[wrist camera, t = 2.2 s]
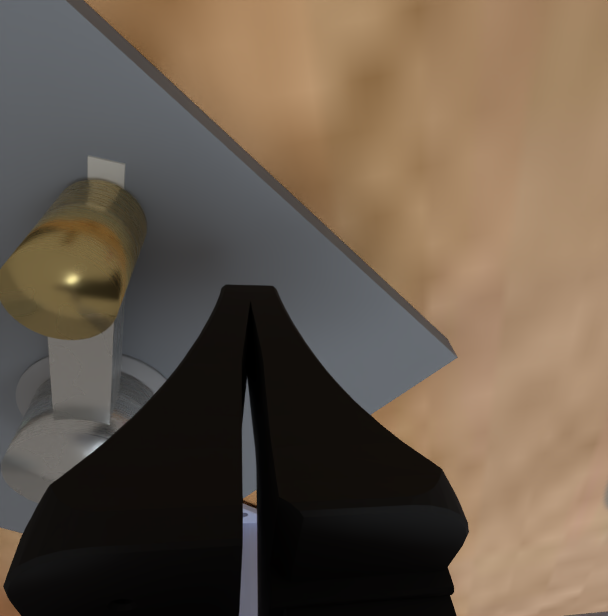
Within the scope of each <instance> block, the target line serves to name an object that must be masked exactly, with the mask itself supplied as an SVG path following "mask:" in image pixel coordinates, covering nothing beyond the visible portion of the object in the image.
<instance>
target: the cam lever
mask: <svg viewBox="0 0 608 616" xmlns="http://www.w3.org/2000/svg"><path fill="white" fill-rule="evenodd" d="M146 234H147V220H146V216H145V213H144V211H143V209H142V207H141V206H140V204H139V203H138V202H137V200H136V199H135V198H134V197H133V196H132V195H131V194H129V193H128V192H127V191H126V190H124V189H122V188H121V187H119V186H117V185H115V184H112V183H110V182H106V181H101V180H83V181H79V182H76V183H74V184H72V185H70V186H68V187H67V188H66V189H65V190H64V191H63V192H62V193H61V194H60V196H59V197H58V198H57V199H56V201H55V202H54V203H53V204H52V205H51V207H50V208H49V209H48V210H47V212H46V213H45V214H44V215H43V217H42V218H41V219H40V220H39V222H38V223H37V224H36V225H35V226H34V228H33V229H32V230H31V231H30V233H29V234H28V235H27V236H26V238H25V239H24V240H23V241H22V243H21V244H20V245H19V246H18V247H17V249H16V250H15V251H14V252H13V254H12V255H11V256H10V257H9V259H8V260H7V261H6V262H5V264H4V265H3V266H2V267H1V269H0V301H1V303H2V305H3V306H4V308H5V309H6V310H7V312H8V313H9V314H10V315H11V316H12V317H13V318H14V319H15V320H17V321H18V322H19V323H20V324H22V325H23V326H25V327H27V328H28V329H30V330H32V331H34V332H36V333H39V334H41V335H44V336H47V337H48V350H49V364H50V378H49V379H47V380H46V381H44V382H43V383H42V384H41V385H40V386H39V387H38V389H37V390H36V392H35V394H34V396H33V398H32V400H31V402H30V404H29V406H28V409H27V411H26V413H25V415H24V417H23V419H22V421H21V423H20V425H19V427H18V429H17V431H16V433H15V435H14V437H13V439H12V441H11V443H10V445H9V447H8V449H7V451H6V453H5V455H4V457H3V459H2V462H1V473H2V476H3V478H4V480H5V482H6V483H7V484H8V485H9V486H10V487H11V488H12V489H13V490H14V491H15V492H17V493H18V494H20V495H21V496H23V497H25V498H27V499H29V500H31V501H33V502H36V503H39V502H40V500H41V498H42V497H43V495H44V493H45V491H46V490H47V488H48V487H49V485H50V484H51V483H53V482H54V481H56V480H57V479H58V478H60V477H61V476H62V475H63V474H65V473H66V472H67V471H69V470H70V469H71V468H73V467H74V466H75V465H76V464H78V463H79V462H80V461H82V460H83V459H84V458H85V457H87V456H88V455H89V454H91V453H92V452H93V451H94V450H96V449H97V448H98V447H99V446H100V445H102V444H103V443H104V442H105V441H106V440H107V439H108V438H109V437H111V436H112V435H113V434H114V433H115V432H116V431H117V430H118V429H119V428H121V427H122V426H123V425H124V424H125V423H126V422H127V421H128V420H129V419H131V418H132V417H133V416H134V415H135V414H136V413H137V412H138V411H139V410H140V409H141V408H142V407H143V406H144V405H145V404H146V403H147V401H148V400H149V399H150V398H151V397H152V396H153V394H152V393H151V391H149V390H148V389H147V388H146V387H145V386H143V385H142V384H141V383H139V382H137V381H135V380H134V379H132V378H129V377H127V376H125V375H122V374H121V359H122V341H123V324H124V307H125V292H126V289H127V286H128V284H129V281H130V278H131V275H132V273H133V270H134V267H135V265H136V262H137V259H138V256H139V254H140V251H141V248H142V245H143V243H144V240H145V237H146Z"/></svg>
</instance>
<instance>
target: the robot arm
mask: <svg viewBox="0 0 608 616" xmlns="http://www.w3.org/2000/svg"><path fill="white" fill-rule="evenodd" d="M247 380H248V389H249V398H250V408H251V417H252V426H253V435H254V444H255V455H256V483H257V509H256V508H253V507H251V506H248V505H246V504H243V484H242V422H243V413H244V403H245V394H246V384H247ZM468 533H469V530H468V522H467V520H466V517H465V515H464V512H463V510H462V507H461V505H460V503H459V500H458V498H457V496H456V494H455V492H454V490H453V489H452V487H451V485H450V483H449V481H448V479H447V478H446V476H445V474H444V472H443V470H442V469H441V468H440V467H438V466H437V465H436V464H434V463H433V462H431V461H430V460H428V459H427V458H425V457H424V456H422V455H421V454H420V453H418V452H417V451H415V450H414V449H412V448H411V447H409V446H408V445H407V444H405V443H404V442H402V441H401V440H400V439H398V438H397V437H396V436H395V435H393V434H392V433H391V432H390V431H388V430H387V429H386V428H385V427H383V426H382V425H381V424H380V423H379V422H377V421H376V420H375V419H374V418H373V417H372V416H371V415H370V414H369V413H367V412H366V411H365V410H364V409H363V408H362V407H361V406H360V405H359V404H358V403H356V402H355V401H354V400H353V399H352V398H351V397H350V395H349V394H348V393H347V392H346V391H345V390H344V389H343V388H342V387H341V386H340V385H339V384H338V383H337V382H336V380H335V379H334V378H333V377H332V376H331V375H330V374H329V372H328V371H327V370H326V369H325V368H324V366H323V365H322V364H321V363H320V361H319V360H318V359H317V357H316V356H315V355H314V353H313V352H312V350H311V349H310V348H309V346H308V345H307V343H306V342H305V340H304V339H303V337H302V336H301V334H300V333H299V331H298V329H297V328H296V326H295V325H294V323H293V321H292V320H291V318H290V316H289V314H288V312H287V311H286V309H285V307H284V305H283V303H282V301H281V299H280V296H279V294H278V291H277V289H276V288H275V287H274V286H268V285H230V284H226V285H224V286H223V287H222V288H221V291H220V295H219V298H218V300H217V303H216V305H215V307H214V309H213V311H212V313H211V315H210V317H209V319H208V321H207V322H206V324H205V326H204V328H203V329H202V331H201V333H200V335H199V336H198V338H197V339H196V341H195V342H194V344H193V345H192V347H191V348H190V350H189V351H188V353H187V354H186V356H185V357H184V359H183V360H182V361H181V363H180V364H179V365H178V367H177V368H176V369H175V370H174V372H173V373H172V374H171V375H170V377H169V378H168V379H167V380H166V381H165V383H164V384H163V385H162V386H161V387H160V388H159V390H158V391H157V392H156V393H155V394H154V395H153V396H152V397H151V398H150V399H149V400H148V401H147V403H146V404H145V405H144V406H143V407H142V408H141V409H140V410H139V411H138V412H137V413H136V414H135V415H134V416H133V417H132V418H131V419H129V420H128V421H127V422H126V423H125V424H124V425H123V426H122V427H121V428H119V429H118V430H117V431H116V432H115V433H114V434H113V435H112V436H111V437H109V438H108V439H107V440H106V441H105V442H104V443H103V444H102V445H100V446H99V447H98V448H97V449H96V450H94V451H93V452H92V453H91V454H89V455H88V456H87V457H85V458H84V459H83V460H82V461H80V462H79V463H78V464H76V465H75V466H74V467H73V468H71V469H70V470H69V471H67V472H66V473H65V474H63V475H62V476H61V477H60V478H58V479H57V480H56V481H54V482H53V483H51V484H50V485H49V487H48V488H47V490H46V491H45V493H44V495H43V497H42V498H41V500H40V502H39V503H38V505H37V507H36V509H35V511H34V513H33V515H32V517H31V519H30V520H29V522H28V524H27V526H26V528H25V530H24V532H23V535H22V537H21V539H20V542H19V545H18V547H17V550H16V553H15V555H14V558H13V561H12V564H11V566H10V569H9V572H8V574H7V577H6V580H5V583H4V586H3V587H4V589H5V592H6V594H7V597H8V598H9V600H10V602H11V603H12V604H13V605H14V607H15V608H16V609H17V611H18V612H19V613H20V615H21V616H456V613H455V609H454V606H453V603H452V600H451V597H450V595H452V594H453V593H454V585H453V582H452V579H451V576H450V573H449V570H448V566H449V564H450V563H451V561H452V560H453V558H454V557H455V556H456V554H457V553H458V551H459V550H460V548H461V547H462V546H463V544H464V541H465V539H466V537H467V535H468ZM566 616H608V611H607V612H597V613H587V614H577V615H566Z"/></svg>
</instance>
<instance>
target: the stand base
mask: <svg viewBox="0 0 608 616" xmlns="http://www.w3.org/2000/svg"><path fill="white" fill-rule="evenodd" d="M83 180H101V181H106V182H110V183H112V184H115V185H117V186H119V187H121V188H122V189H124V190H126V191H127V192H128V193H129V194H131V195H132V196H133V197H134V198H135V199H136V200H137V202H138V203H139V204H140V206H141V207H142V209H143V211H144V213H145V216H146V220H147V234H146V237H145V240H144V243H143V245H142V248H141V251H140V254H139V256H138V259H137V262H136V265H135V267H134V270H133V273H132V275H131V278H130V281H129V284H128V286H127V289H126V292H125V307H124V324H123V341H122V359H121V374H122V375H125V376H127V377H129V378H132V379H134V380H135V381H137V382H139V383H141V384H142V385H143V386H145V387H146V388H147V389H148V390H149V391H151V393H152V394H153V395H154V394H155V393H156V392H157V391H158V390H159V388H160V387H161V386H162V385H163V384H164V383H165V381H166V380H167V379H168V378H169V377H170V375H171V374H172V373H173V372H174V370H175V369H176V368H177V367H178V365H179V364H180V363H181V361H182V360H183V359H184V357H185V356H186V354H187V353H188V351H189V350H190V348H191V347H192V345H193V344H194V342H195V341H196V339H197V338H198V336H199V335H200V333H201V331H202V329H203V328H204V326H205V324H206V322H207V321H208V319H209V317H210V315H211V313H212V311H213V309H214V307H215V305H216V303H217V300H218V298H219V295H220V291H221V288H222V287H223V286H224V285H226V284H230V285H268V286H274V287H275V288H276V289H277V291H278V294H279V296H280V299H281V301H282V303H283V305H284V307H285V309H286V311H287V312H288V314H289V316H290V318H291V320H292V321H293V323H294V325H295V326H296V328H297V329H298V331H299V333H300V334H301V336H302V337H303V339H304V340H305V342H306V343H307V345H308V346H309V348H310V349H311V350H312V352H313V353H314V355H315V356H316V357H317V359H318V360H319V361H320V363H321V364H322V365H323V366H324V368H325V369H326V370H327V371H328V372H329V374H330V375H331V376H332V377H333V378H334V379H335V380H336V382H337V383H338V384H339V385H340V386H341V387H342V388H343V389H344V390H345V391H346V392H347V393H348V394H349V395H350V397H351V398H352V399H353V400H354V401H355V402H356V403H358V404H359V405H360V406H361V407H362V408H363V409H364V410H365V411H366V412H367V413H369V414H370V415H371V414H372V413H374V412H375V411H377V410H378V409H380V408H381V407H383V406H384V405H386V404H387V403H389V402H391V401H392V400H394V399H395V398H397V397H398V396H400V395H401V394H403V393H404V392H406V391H407V390H409V389H410V388H412V387H413V386H415V385H416V384H418V383H419V382H421V381H422V380H424V379H426V378H427V377H429V376H430V375H432V374H433V373H435V372H436V371H438V370H439V369H441V368H442V367H444V366H445V365H447V364H448V363H450V362H451V361H453V360H454V359H456V358H457V355H456V354H455V352H454V350H453V348H452V346H451V345H450V343H449V341H448V339H447V338H446V337H445V336H443V335H442V334H441V333H440V332H439V331H438V330H437V329H436V328H435V327H434V326H433V325H432V324H431V323H429V322H428V321H427V320H426V319H425V318H424V317H423V316H422V315H421V314H420V313H419V312H418V311H417V310H416V309H414V308H413V307H412V306H411V305H410V304H409V303H408V302H407V301H406V300H405V299H404V298H403V297H402V296H400V295H399V294H398V293H397V292H396V291H395V290H394V289H393V288H392V287H391V286H390V285H389V284H388V283H387V282H385V281H384V280H383V279H382V278H381V277H380V276H379V275H378V274H377V273H376V272H375V271H374V270H373V269H371V268H370V267H369V266H368V265H367V264H366V263H365V262H364V261H363V260H362V259H361V258H360V257H359V256H358V255H356V254H355V253H354V252H353V251H352V250H351V249H350V248H349V247H348V246H347V245H346V244H345V243H344V242H342V241H341V240H340V239H339V238H338V237H337V236H336V235H335V234H334V233H333V232H332V231H331V230H330V229H329V228H327V227H326V226H325V225H324V224H323V223H322V222H321V221H320V220H319V219H318V218H317V217H316V216H315V215H313V214H312V213H311V212H310V211H309V210H308V209H307V208H306V207H305V206H304V205H303V204H302V203H301V202H300V201H298V200H297V199H296V198H295V197H294V196H293V195H292V194H291V193H290V192H289V191H288V190H287V189H286V188H284V187H283V186H282V185H281V184H280V183H279V182H278V181H277V180H276V179H275V178H274V177H273V176H272V175H270V174H269V173H268V172H267V171H266V170H265V169H264V168H263V167H262V166H261V165H260V164H259V163H258V162H257V161H255V160H254V159H253V158H252V157H251V156H250V155H249V154H248V153H247V152H246V151H245V150H244V149H243V148H241V147H240V146H239V145H238V144H237V143H236V142H235V141H234V140H233V139H232V138H231V137H230V136H229V135H228V134H226V133H225V132H224V131H223V130H222V129H221V128H220V127H219V126H218V125H217V124H216V123H215V122H214V121H212V120H211V119H210V118H209V117H208V116H207V115H206V114H205V113H204V112H203V111H202V110H201V109H200V108H199V107H197V106H196V105H195V104H194V103H193V102H192V101H191V100H190V99H189V98H188V97H187V96H186V95H185V94H183V93H182V92H181V91H180V90H179V89H178V88H177V87H176V86H175V85H174V84H173V83H172V82H171V81H170V80H168V79H167V78H166V77H165V76H164V75H163V74H162V73H161V72H160V71H159V70H158V69H157V68H156V67H154V66H153V65H152V64H151V63H150V62H149V61H148V60H147V59H146V58H145V57H144V56H143V55H142V54H141V53H139V52H138V51H137V50H136V49H135V48H134V47H133V46H132V45H131V44H130V43H129V42H128V41H127V40H125V39H124V38H123V37H122V36H121V35H120V34H119V33H118V32H117V31H116V30H115V29H114V28H113V27H111V26H110V25H109V24H108V23H107V22H106V21H105V20H104V19H103V18H102V17H101V16H100V15H99V14H98V13H96V12H95V11H94V10H93V9H92V8H91V7H90V6H89V5H88V4H87V3H86V2H85V1H84V0H0V269H1V267H2V266H3V265H4V264H5V262H6V261H7V260H8V259H9V257H10V256H11V255H12V254H13V252H14V251H15V250H16V249H17V247H18V246H19V245H20V244H21V243H22V241H23V240H24V239H25V238H26V236H27V235H28V234H29V233H30V231H31V230H32V229H33V228H34V226H35V225H36V224H37V223H38V222H39V220H40V219H41V218H42V217H43V215H44V214H45V213H46V212H47V210H48V209H49V208H50V207H51V205H52V204H53V203H54V202H55V201H56V199H57V198H58V197H59V196H60V194H61V193H62V192H63V191H64V190H65V189H66V188H67V187H68V186H70V185H72V184H74V183H76V182H79V181H83ZM49 378H50V364H49V350H48V337H47V336H44V335H41V334H39V333H36V332H34V331H32V330H30V329H28V328H27V327H25V326H23V325H22V324H20V323H19V322H18V321H17V320H15V319H14V318H13V317H12V316H11V315H10V314H9V313H8V312H7V310H6V309H5V308H4V306H3V305H2V303H1V301H0V527H1V528H5V529H8V530H12V531H16V532H20V533H23V532H24V530H25V528H26V526H27V524H28V522H29V520H30V519H31V517H32V515H33V513H34V511H35V509H36V507H37V505H38V503H36V502H33V501H31V500H29V499H27V498H25V497H23V496H21V495H20V494H18V493H17V492H15V491H14V490H13V489H12V488H11V487H10V486H9V485H8V484H7V483H6V482H5V480H4V478H3V476H2V473H1V462H2V459H3V457H4V455H5V453H6V451H7V449H8V447H9V445H10V443H11V441H12V439H13V437H14V435H15V433H16V431H17V429H18V427H19V425H20V423H21V421H22V419H23V417H24V415H25V413H26V411H27V409H28V406H29V404H30V402H31V400H32V398H33V396H34V394H35V392H36V390H37V389H38V387H39V386H40V385H41V384H42V383H43V382H44V381H46V380H47V379H49ZM242 484H243V498H244V497H246V496H247V495H249V494H251V493H252V492H254V491H255V490H257V483H256V455H255V444H254V435H253V426H252V417H251V408H250V398H249V389H248V380H247V384H246V394H245V403H244V413H243V422H242Z"/></svg>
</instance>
